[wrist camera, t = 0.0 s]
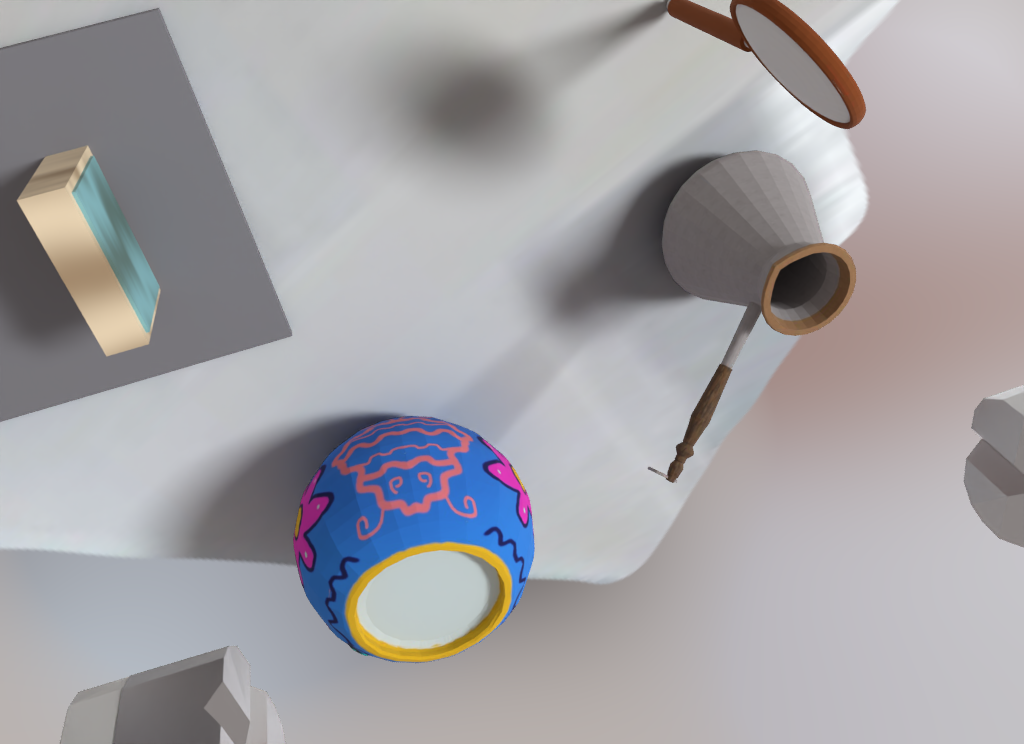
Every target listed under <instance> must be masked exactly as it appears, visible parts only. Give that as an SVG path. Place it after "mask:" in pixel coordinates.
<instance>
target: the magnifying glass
mask: <svg viewBox="0 0 1024 744" xmlns="http://www.w3.org/2000/svg"><path fill="white" fill-rule="evenodd" d="M666 7H667V9H668V12H669V14H670V15H671V16H672V17H674V18H677V19H679V20H681V21H683V22H685V23H687V24H689V25H691V26H693V27H695V28H697V29H700V30H702V31H704V32H706V33H708V34H710V35H712V36H714V37H716V38H718V39H721V40H723V41H725V42H727V43H729V44H731V45H733V46H735V47H737V48H739V49H742V50H744V51H746V52H750V51H752V52H753V54H754V55H755V56H756V57H757V59H758V60H759V61H760V62H761V64H762V65H763V66H764V67H765V68H766V69H767V70H768V72H769V73H770V74H771V75H772V76H773V77H774V78H775V79H776V80H777V81H778V82H779V83H780V84H781V85H782V86H783V87H784V88H785V89H786V90H787V91H788V92H789V93H790V94H791V95H792V96H793V97H794V98H796V99H797V100H798V101H799V102H800V103H801V104H802V105H804V106H805V107H806V108H807V109H809V110H810V111H811V112H813V113H814V114H815V115H817V116H818V117H820V118H821V119H823V120H824V121H826V122H828V123H830V124H832V125H834V126H836V127H839V128H843V129H850V128H852V127H854V126H856V125H857V124H859V123H860V121H861V120H862V119H863V117H864V115H865V112H866V107H865V102H864V99H863V96H862V94H861V91H860V90H859V87H858V86H857V84H856V82H855V80H854V79H853V77H852V76H851V74H850V73H849V71H848V70H847V68H846V67H845V66H844V64H843V63H842V62H841V60H840V59H839V58H838V57H837V55H836V54H835V53H834V52H833V51H832V49H831V48H830V47H829V46H828V45H827V44H826V43H825V42H824V40H823V39H822V38H821V37H820V36H819V35H818V34H817V33H816V32H815V31H814V30H813V29H812V28H811V27H810V26H809V25H808V24H806V23H805V22H804V21H803V20H802V19H801V18H800V17H799V16H797V15H796V14H795V13H794V12H793V11H791V10H790V9H789V8H788V7H786V6H785V5H783V4H782V3H781V2H779V1H778V0H732V2H731V4H730V12H731V16H732V19H731V18H729V17H726V16H724V15H721V14H719V13H717V12H714V11H712V10H710V9H707V8H705V7H702V6H700V5H698V4H695V3H693V2H691V1H688V0H669V1H668V2H667V5H666Z"/></svg>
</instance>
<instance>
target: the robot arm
mask: <svg viewBox="0 0 1024 744" xmlns="http://www.w3.org/2000/svg"><path fill="white" fill-rule="evenodd" d="M971 428H972V429H973V430H974V431H975V432H976V434H977V435H978V436H979V437H980V438H981V440H980V442H979V443H978V444H977V445H976V447H975V448H974V449H973V451H972V452H971V453H970V455H969V456H968V457H967V458H966V466H965V476H964V483H965V487H966V490H967V493H968V496H969V499H970V502H971V505H972V506H973V508H974V510H975V511H976V513H977V514H978V516H979V517H980V519H981V520H982V522H984V524H985V525H986V526H987V527H988V528H989V529H990V530H991V531H992V532H993V533H994V534H995V535H996V536H997V537H998V538H999V539H1002V540H1005V541H1008V542H1010V543H1013V544H1016V545H1019V546H1021V547H1024V385H1022V386H1019V387H1016V388H1013V389H1010V390H1007V391H1005V392H1002V393H999V394H996V395H993V396H990V397H987V398H984V399H983V400H982V401H981V403H980V404H979V405H978V406H977V408H976V409H975V411H974V417H973V423H972V427H971ZM60 744H286V741H285V736H284V730H283V725H282V723H281V720H280V718H279V715H278V712H277V710H276V707H275V705H274V703H273V702H272V700H271V698H270V697H269V695H268V693H267V692H266V691H263V690H261V689H258V688H255V687H252V686H250V664H249V663H248V661H247V660H246V658H245V657H244V655H243V654H242V652H241V651H240V650H239V648H238V646H227V647H224V648H221V649H218V650H214V651H211V652H208V653H204V654H201V655H197V656H194V657H191V658H187V659H184V660H181V661H178V662H174V663H171V664H167V665H164V666H161V667H157V668H154V669H151V670H147V671H144V672H141V673H137V674H134V675H131V676H130V677H127V678H124V679H120V680H117V681H114V682H110V683H107V684H104V685H101V686H97V687H94V688H91V689H87V690H84V691H81V692H78V694H77V695H76V697H75V698H74V700H73V701H72V703H71V704H70V706H69V708H68V710H67V713H66V718H65V722H64V727H63V731H62V736H61V740H60Z"/></svg>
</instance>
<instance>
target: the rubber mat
mask: <svg viewBox="0 0 1024 744" xmlns="http://www.w3.org/2000/svg"><path fill="white" fill-rule="evenodd" d="M87 145H88V147H89V149H90V151H91V153H92V155H94V157H95V159H96V161H97V163H98V165H99V167H100V169H101V171H102V173H103V175H104V177H105V179H106V181H107V183H108V185H109V187H110V189H111V191H112V193H113V195H114V197H115V199H116V201H117V203H118V205H119V207H120V208H121V210H122V212H123V214H124V216H125V218H126V220H127V222H128V224H129V226H130V228H131V230H132V232H133V234H134V236H135V238H136V240H137V242H138V244H139V246H140V248H141V250H142V252H143V254H144V256H145V258H146V260H147V262H148V264H149V266H150V268H151V270H152V272H153V274H154V276H155V278H156V280H157V282H158V284H159V286H160V287H159V288H160V290H161V291H160V295H159V300H158V305H157V309H156V314H155V318H154V323H153V328H152V332H151V337H150V341H149V344H148V345H144V346H141V347H138V348H134V349H131V350H127V351H124V352H120V353H117V354H113V355H110V356H106V355H105V353H104V351H103V349H102V348H101V346H100V344H99V343H98V341H97V339H96V337H95V336H94V334H93V332H92V330H91V329H90V327H89V325H88V323H87V322H86V320H85V318H84V317H83V315H82V313H81V311H80V310H79V308H78V306H77V304H76V303H75V301H74V299H73V297H72V296H71V294H70V292H69V290H68V289H67V287H66V285H65V284H64V282H63V280H62V278H61V277H60V275H59V273H58V271H57V270H56V268H55V266H54V264H53V263H52V261H51V259H50V257H49V256H48V254H47V252H46V251H45V249H44V247H43V245H42V244H41V242H40V240H39V238H38V237H37V235H36V233H35V231H34V230H33V228H32V226H31V224H30V223H29V221H28V219H27V218H26V216H25V214H24V212H23V211H22V209H21V207H20V205H19V204H18V202H17V199H18V198H19V196H20V195H21V193H22V192H23V190H24V189H25V187H26V185H27V184H28V182H29V181H30V179H31V178H32V176H33V175H34V173H35V172H36V170H37V168H38V167H39V165H40V164H41V162H42V161H43V159H44V158H45V157H46V156H50V155H54V154H57V153H61V152H65V151H69V150H72V149H76V148H80V147H84V146H87ZM290 336H292V331H291V329H290V326H289V324H288V321H287V319H286V316H285V314H284V311H283V309H282V307H281V304H280V302H279V299H278V297H277V294H276V292H275V290H274V287H273V285H272V282H271V280H270V277H269V275H268V273H267V270H266V268H265V265H264V263H263V260H262V258H261V256H260V253H259V251H258V248H257V246H256V243H255V241H254V238H253V236H252V234H251V231H250V229H249V226H248V224H247V221H246V219H245V217H244V214H243V212H242V209H241V207H240V204H239V202H238V200H237V197H236V195H235V192H234V190H233V187H232V185H231V182H230V180H229V178H228V175H227V173H226V170H225V168H224V165H223V163H222V161H221V158H220V156H219V153H218V151H217V148H216V146H215V144H214V141H213V139H212V136H211V134H210V131H209V129H208V126H207V124H206V122H205V119H204V117H203V114H202V112H201V109H200V107H199V105H198V102H197V100H196V97H195V95H194V92H193V90H192V88H191V85H190V83H189V80H188V78H187V75H186V73H185V71H184V68H183V66H182V63H181V61H180V58H179V56H178V53H177V51H176V49H175V46H174V44H173V41H172V39H171V36H170V34H169V32H168V29H167V27H166V24H165V22H164V19H163V17H162V15H161V12H160V10H159V8H157V9H153V10H149V11H145V12H141V13H137V14H133V15H129V16H125V17H121V18H117V19H113V20H109V21H105V22H102V23H98V24H94V25H90V26H86V27H82V28H78V29H74V30H70V31H66V32H62V33H58V34H54V35H50V36H46V37H43V38H39V39H35V40H31V41H27V42H23V43H19V44H15V45H11V46H7V47H3V48H0V422H1V421H5V420H8V419H11V418H15V417H18V416H22V415H25V414H28V413H32V412H35V411H39V410H42V409H45V408H49V407H52V406H56V405H59V404H62V403H66V402H69V401H73V400H76V399H79V398H83V397H86V396H90V395H93V394H96V393H100V392H103V391H107V390H110V389H113V388H117V387H120V386H124V385H127V384H130V383H134V382H137V381H141V380H144V379H147V378H151V377H154V376H158V375H161V374H164V373H168V372H171V371H175V370H178V369H181V368H185V367H188V366H192V365H195V364H198V363H202V362H205V361H209V360H212V359H215V358H219V357H222V356H226V355H229V354H232V353H236V352H239V351H243V350H246V349H249V348H253V347H256V346H260V345H263V344H266V343H270V342H273V341H277V340H280V339H283V338H287V337H290Z"/></svg>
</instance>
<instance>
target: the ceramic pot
mask: <svg viewBox="0 0 1024 744" xmlns="http://www.w3.org/2000/svg"><path fill="white" fill-rule="evenodd" d="M293 542H294V551H295V556H296V562H297V567H298V572H299V575H300V580H301V583H302V586H303V588H304V591H305V593H306V596H307V598H308V599H309V601H310V603H311V604H312V606H313V607H314V609H315V610H316V611H317V612H318V614H319V615H320V617H321V618H322V619H323V620H324V622H325V623H326V625H327V626H328V627H329V629H330V630H331V631H332V632H333V633H334V634H335V635H336V636H337V637H338V638H340V639H341V640H342V641H344V642H345V643H347V644H348V645H349V646H350V647H351V648H352V649H353V650H354V651H356V652H358V653H360V654H363V655H365V656H368V655H370V656H374V657H377V658H381V659H384V660H388V661H392V662H411V663H422V662H430V661H435V660H440V659H444V658H447V657H451V656H453V655H456V654H459V653H460V652H462V651H464V650H466V649H468V648H470V647H472V646H474V645H475V644H477V643H480V642H481V641H482V640H483V639H485V638H486V637H487V636H488V635H489V634H491V633H492V632H493V631H494V630H495V629H497V628H498V627H499V626H500V625H501V624H502V623H503V622H504V621H505V620H506V618H507V617H508V616H509V615H510V613H511V612H512V610H513V609H514V608H515V606H516V605H517V604H518V602H519V600H520V598H521V596H522V593H523V590H524V587H525V584H526V581H527V577H528V574H529V571H530V568H531V565H532V562H533V558H534V532H533V522H532V511H531V505H530V500H529V497H528V494H527V492H526V490H525V488H524V486H523V484H522V482H521V480H520V478H519V477H518V475H517V473H516V471H515V469H514V468H513V466H512V465H511V464H510V463H509V461H508V460H507V459H506V458H505V457H504V456H503V455H502V454H501V453H500V452H499V451H498V450H496V449H495V448H494V447H493V446H492V445H490V444H489V443H488V442H487V441H485V440H484V439H483V438H482V437H481V436H479V435H478V434H477V433H475V432H473V431H471V430H469V429H467V428H464V427H461V426H459V425H456V424H452V423H449V422H446V421H443V420H440V419H436V418H433V417H417V416H408V417H399V418H393V419H389V420H385V421H381V422H379V423H376V424H374V425H371V426H369V427H366V428H364V429H362V430H360V431H358V432H357V433H356V434H354V435H353V436H352V437H350V438H349V439H348V440H346V441H345V442H344V443H342V444H341V445H339V446H338V447H337V448H336V449H335V450H334V451H333V452H332V453H330V455H329V456H328V457H327V458H326V459H325V461H324V462H323V463H322V465H321V466H320V468H319V470H318V471H317V473H316V474H315V476H314V477H313V479H312V480H311V482H310V483H309V485H308V486H307V488H306V490H305V491H304V494H303V496H302V500H301V503H300V507H299V512H298V517H297V521H296V526H295V531H294V538H293Z"/></svg>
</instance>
